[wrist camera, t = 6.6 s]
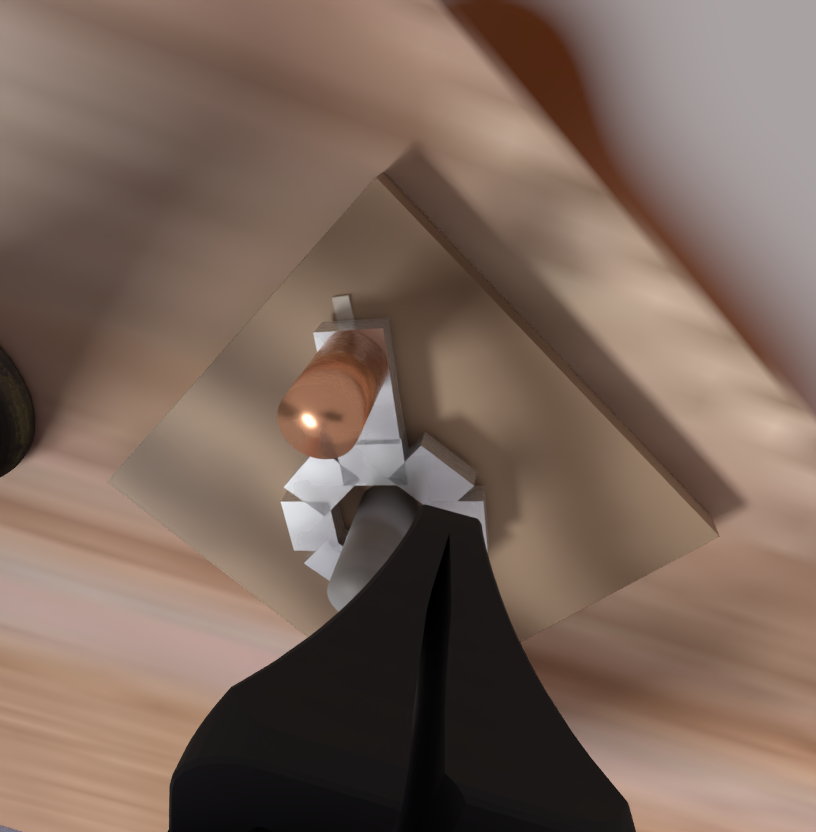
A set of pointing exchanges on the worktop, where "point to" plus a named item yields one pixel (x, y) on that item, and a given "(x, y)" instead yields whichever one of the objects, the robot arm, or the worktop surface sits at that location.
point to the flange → (359, 441)
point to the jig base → (414, 436)
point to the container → (13, 416)
